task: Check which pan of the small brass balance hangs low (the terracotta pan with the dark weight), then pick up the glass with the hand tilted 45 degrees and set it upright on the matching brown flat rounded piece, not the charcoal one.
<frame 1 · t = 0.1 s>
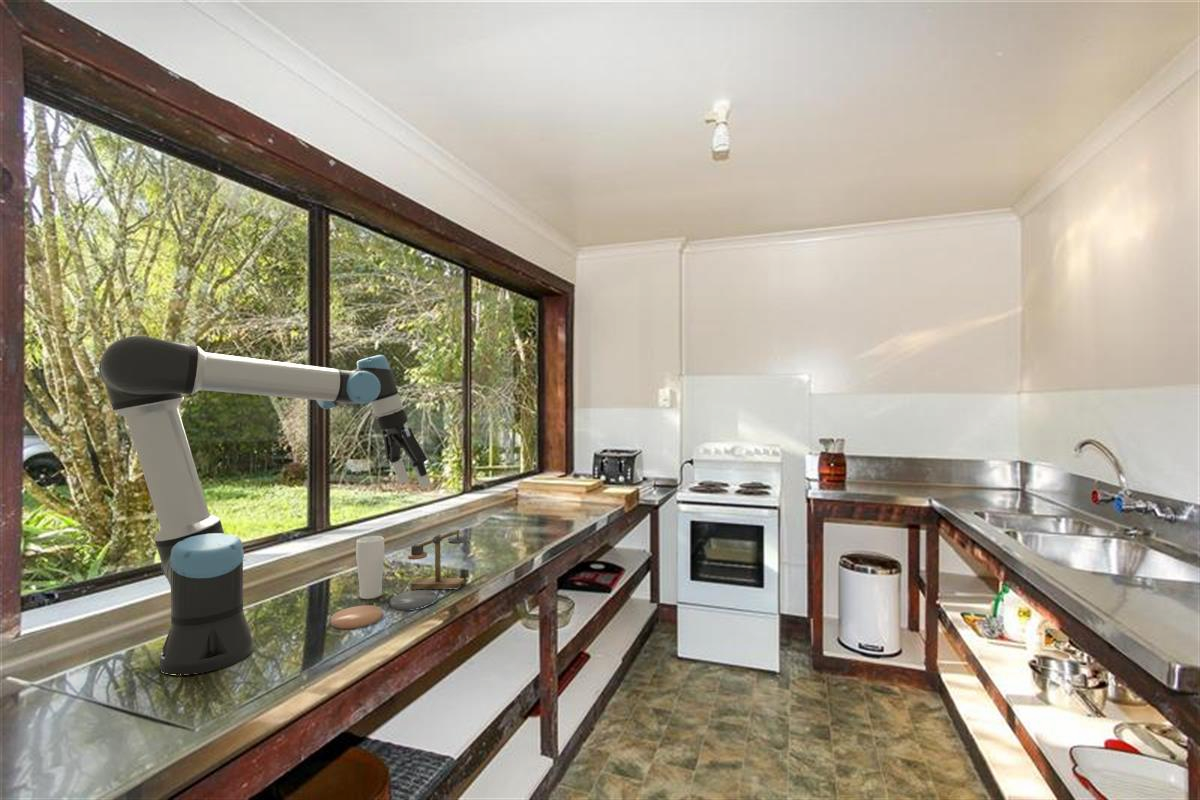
hand: (414, 484, 151), 28 cm above the counter, tool tilted 20°, fingers open, 13 cm apart
charcoal dish: (413, 602, 138), on the counter
drinking glass: (370, 597, 142), on the counter
balance: (438, 586, 150), on the counter
brown flat rounded piece: (357, 619, 127), on the counter
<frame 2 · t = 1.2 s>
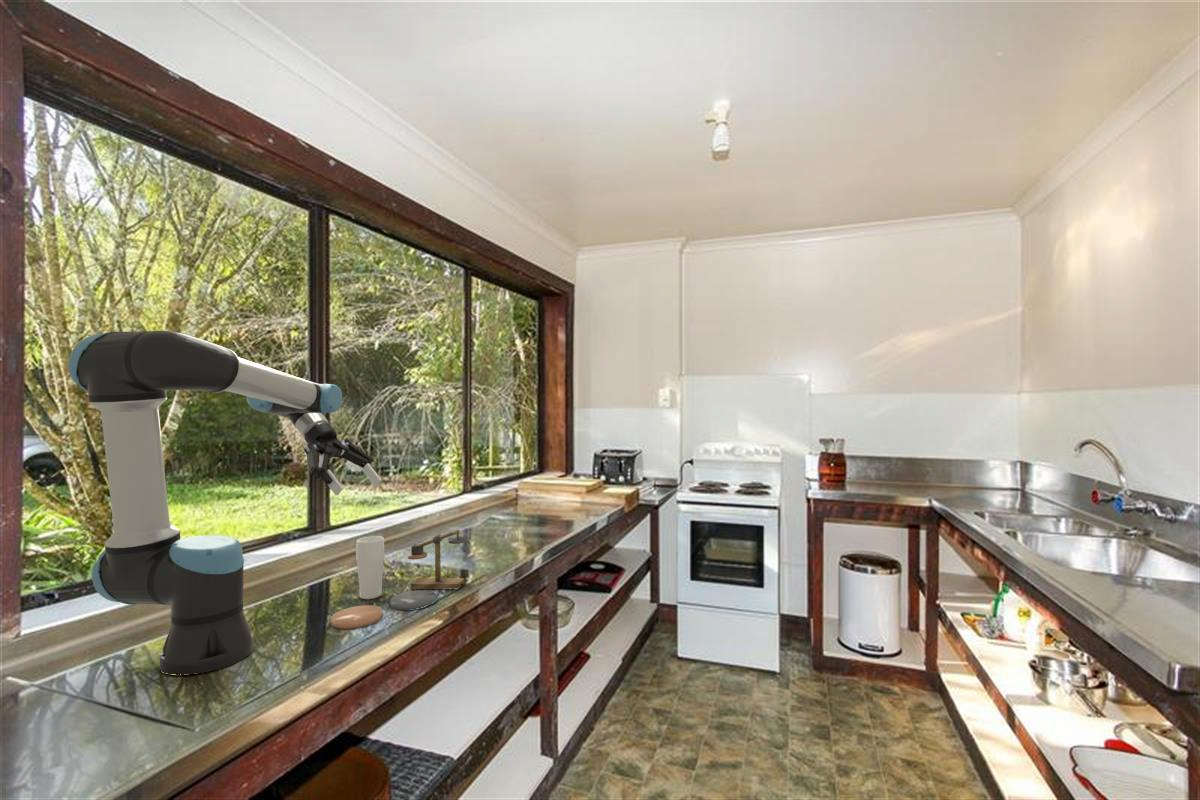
hand: (359, 487, 147), 28 cm above the counter, tool tilted 45°, fingers open, 13 cm apart
nothing on the counter moved.
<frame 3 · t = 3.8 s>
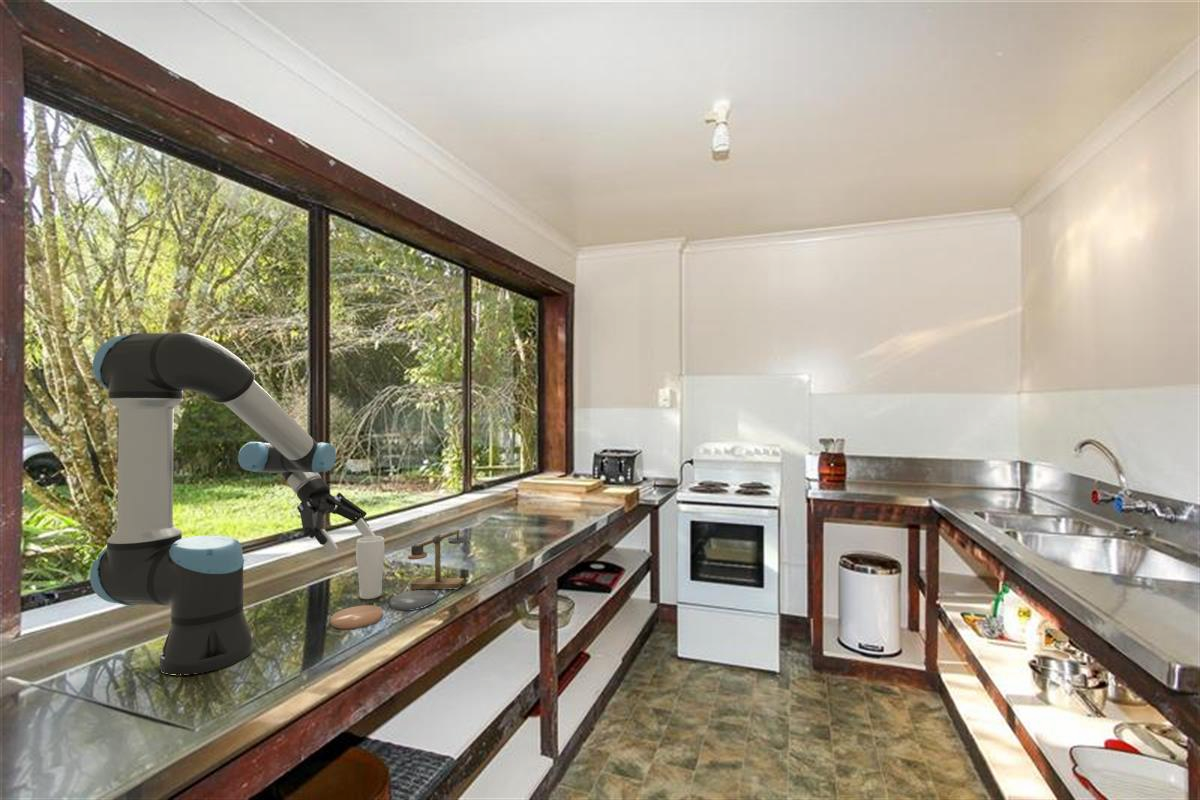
hand: (354, 545, 146), 13 cm above the counter, tool tilted 45°, fingers open, 13 cm apart
nothing on the counter moved.
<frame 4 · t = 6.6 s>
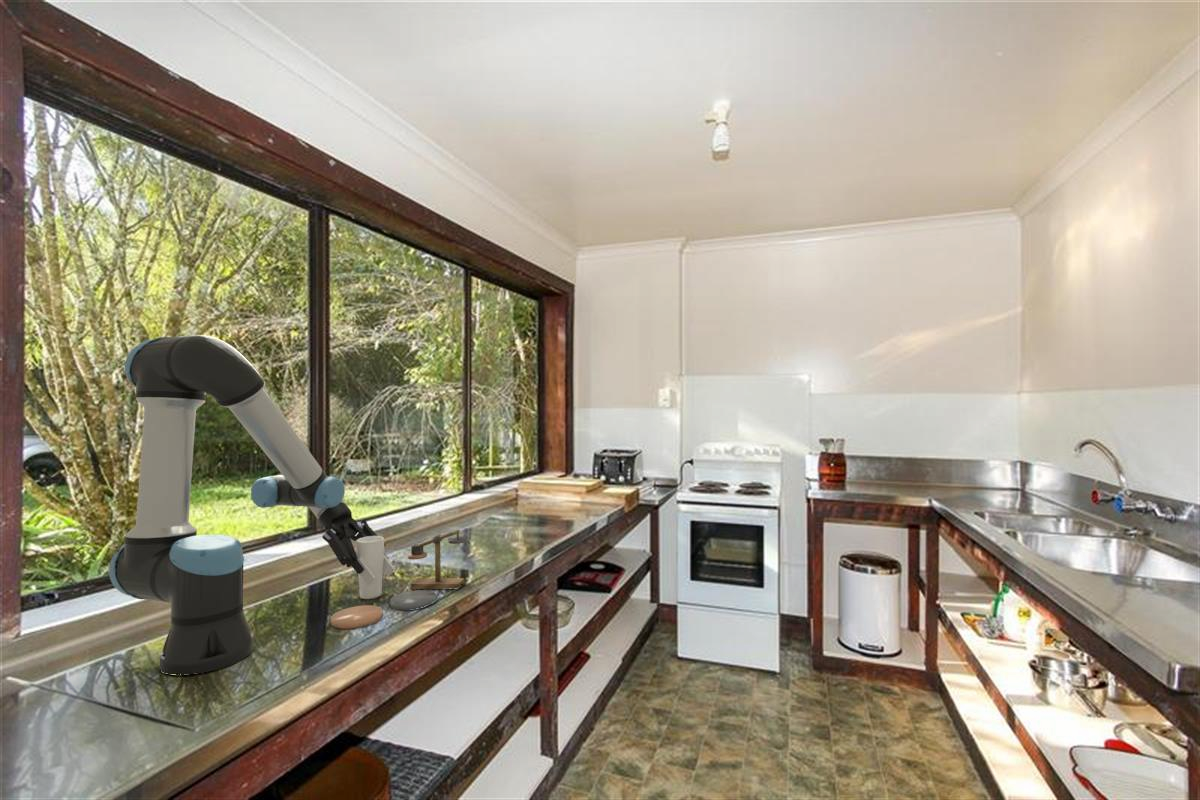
hand: (381, 576, 141), 5 cm above the counter, tool tilted 45°, fingers closed on drinking glass, 7 cm apart
drinking glass: (370, 597, 142), on the counter, touching gripper
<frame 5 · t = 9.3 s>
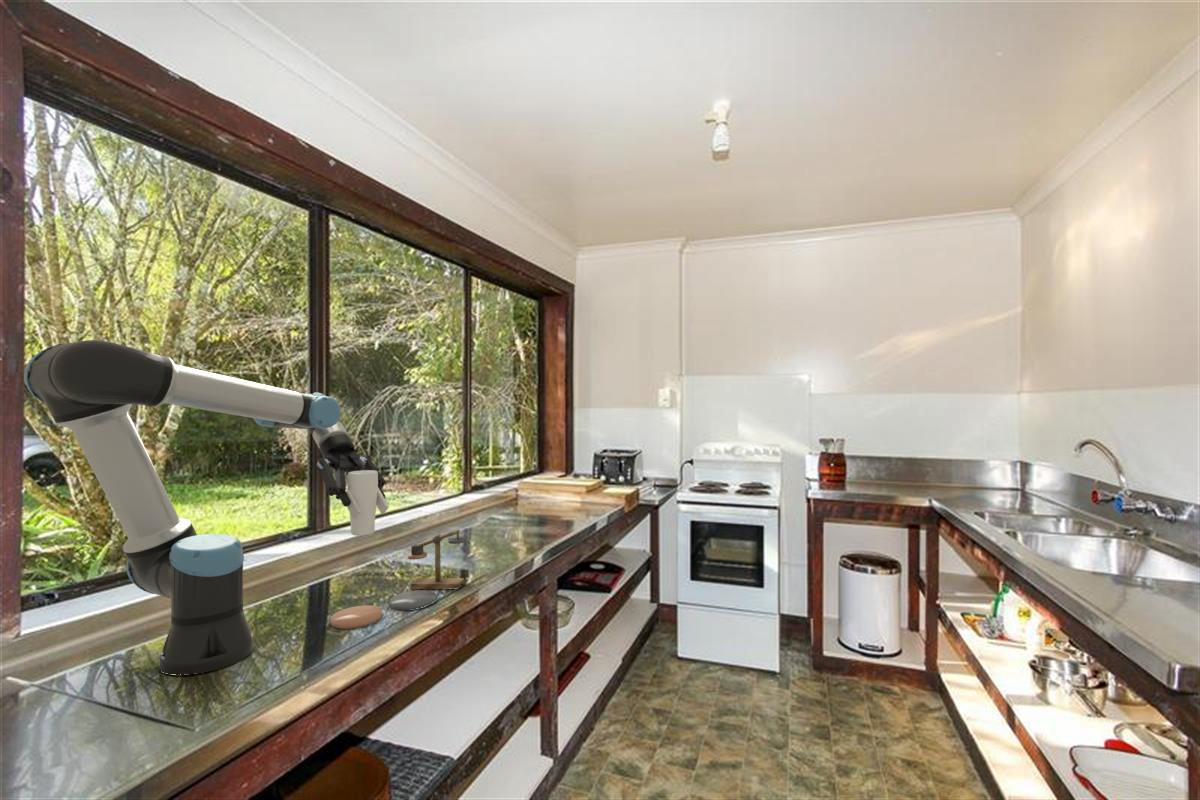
hand: (371, 512, 131), 24 cm above the counter, tool tilted 45°, fingers closed on drinking glass, 7 cm apart
drinking glass: (362, 534, 133), point 18 cm above the counter, touching gripper
when the fingers open (8 cm above the counter, at t = 12.3 s): drinking glass drops 1 cm, resting on brown flat rounded piece.
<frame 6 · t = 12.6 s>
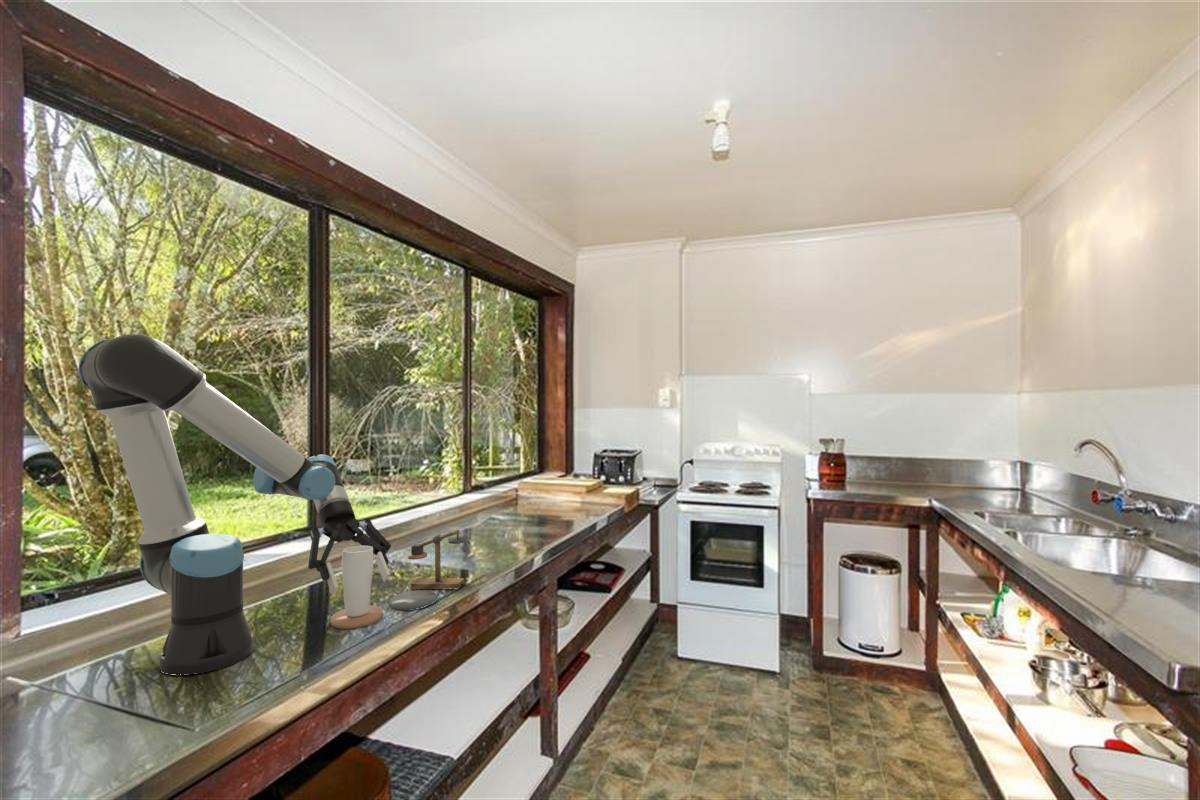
hand: (361, 584, 125), 9 cm above the counter, tool tilted 45°, fingers open, 11 cm apart
drinking glass: (357, 614, 127), point 1 cm above the counter, touching brown flat rounded piece
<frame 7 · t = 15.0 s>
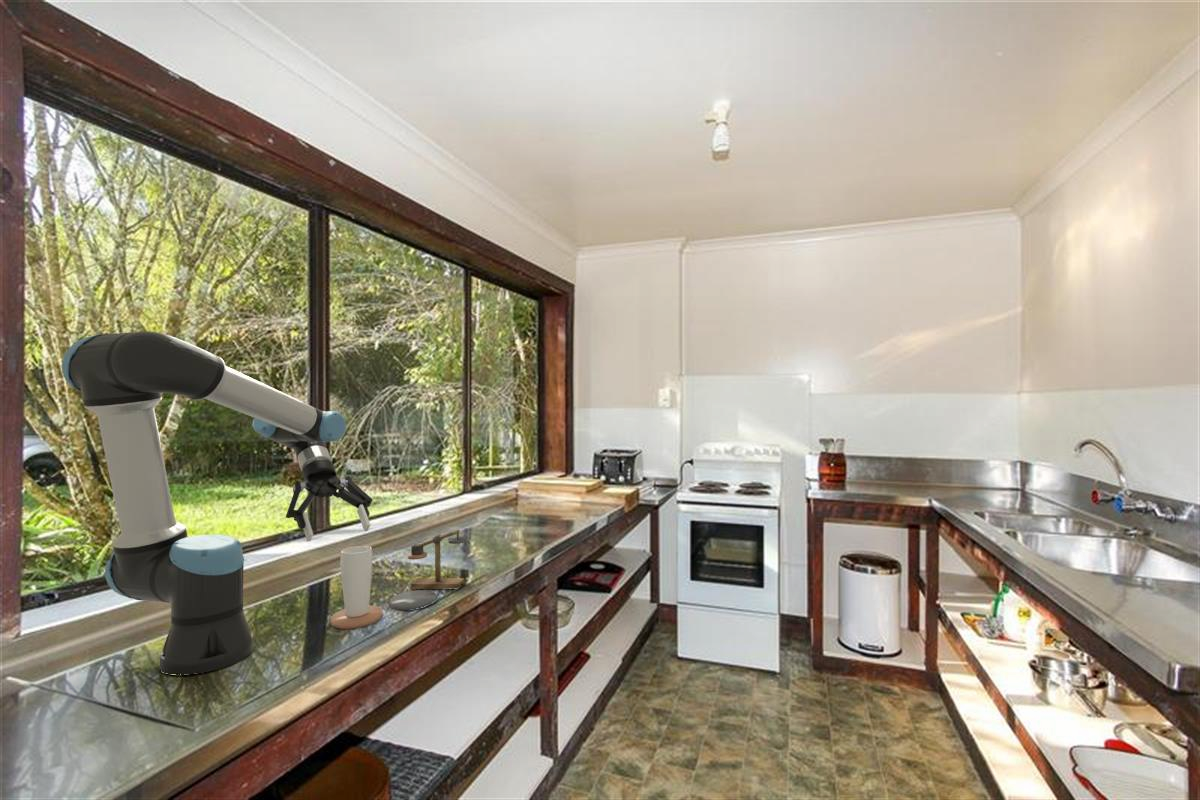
hand: (340, 533, 134), 19 cm above the counter, tool tilted 45°, fingers open, 13 cm apart
nothing on the counter moved.
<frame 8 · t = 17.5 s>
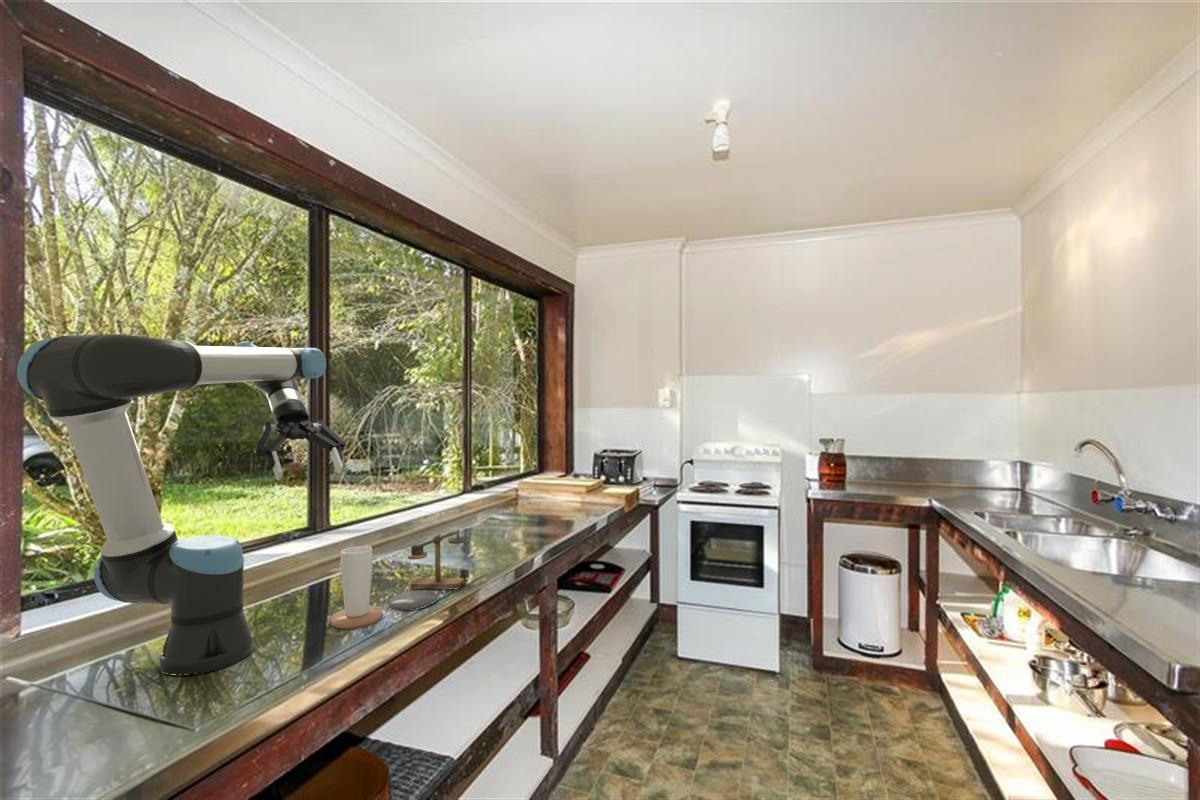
hand: (311, 473, 131), 34 cm above the counter, tool tilted 45°, fingers open, 13 cm apart
nothing on the counter moved.
at the end: drinking glass 0.0 cm off-centre on the brown flat rounded piece, point 1.0 cm above the brown flat rounded piece's base; drinking glass tilted 0°; the gripper is holding nothing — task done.
